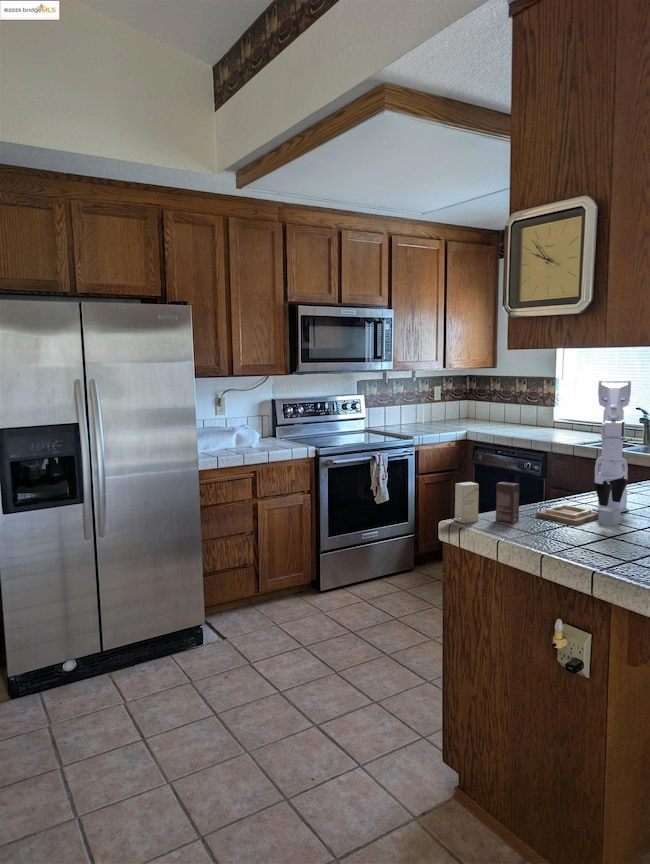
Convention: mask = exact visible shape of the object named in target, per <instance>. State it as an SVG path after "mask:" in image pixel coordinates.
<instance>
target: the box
mask: <svg viewBox="0 0 650 864" xmlns="http://www.w3.org/2000/svg"><path fill="white" fill-rule="evenodd" d="M495 488H496V493H495V494H496V496H495V497H496V498H495V500H496V501H495V521H499V522H506V523H511V524H515V523H517V522H519V520H520V519H519V510H520V483H514V482H506V481H501V482H497V483H496V487H495Z"/></svg>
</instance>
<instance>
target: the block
mask: <svg viewBox="0 0 650 864" xmlns="http://www.w3.org/2000/svg"><path fill="white" fill-rule="evenodd" d="M598 513H599V517H598V519H597V523H598V524H599V523H600V524H601V525H605V526H608V525H609V527H614V526H618V525H621V513H622V512H621V510H619V509H614V508H609V507H605V508H602V509H599V511H598ZM617 524H618V525H617Z"/></svg>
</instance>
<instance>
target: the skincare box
mask: <svg viewBox="0 0 650 864" xmlns="http://www.w3.org/2000/svg"><path fill="white" fill-rule="evenodd" d="M479 488H480V486H479V483H477V482H472V481H465V482H458V483H457V482H456V483H455V487H454V489H455V492H454V499H455V500H454V501H455V502H454V520H455V519H457V520H455V521H456V522H458V523H460V524H465V523H475V522H479V494H480V492H479V490H480V489H479ZM459 518H461V519H459Z"/></svg>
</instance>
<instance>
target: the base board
mask: <svg viewBox="0 0 650 864" xmlns="http://www.w3.org/2000/svg"><path fill="white" fill-rule="evenodd" d="M535 517H536V518H540V519H545V520H549V521H554V522H559V523H561V524H562V523H563V524H567V525H572V526H575V525H576V526H579V525H583V524H585V523H590V522H592V520H593V521H595V519H596V520H598V517H599V512H597V511H596V512H595V511H592V509H587V508H584V507H578V506H577V507H576V506H574V505H573V506H572V505H567V504H559V505H556V506H552V507H549V508H545V509H542V510H539V511H536V512H535Z"/></svg>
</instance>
